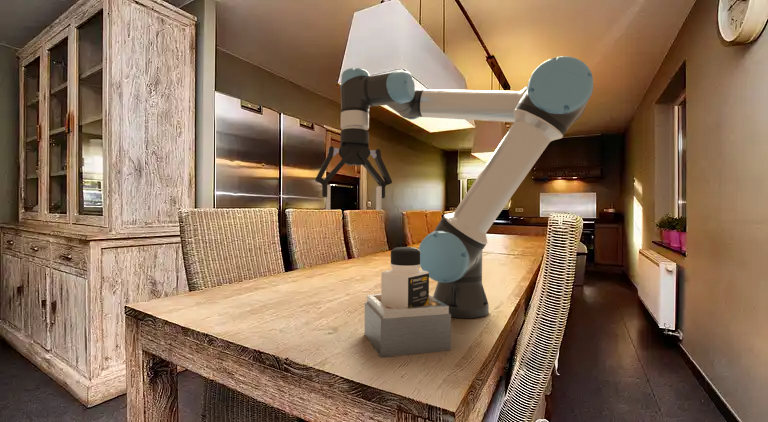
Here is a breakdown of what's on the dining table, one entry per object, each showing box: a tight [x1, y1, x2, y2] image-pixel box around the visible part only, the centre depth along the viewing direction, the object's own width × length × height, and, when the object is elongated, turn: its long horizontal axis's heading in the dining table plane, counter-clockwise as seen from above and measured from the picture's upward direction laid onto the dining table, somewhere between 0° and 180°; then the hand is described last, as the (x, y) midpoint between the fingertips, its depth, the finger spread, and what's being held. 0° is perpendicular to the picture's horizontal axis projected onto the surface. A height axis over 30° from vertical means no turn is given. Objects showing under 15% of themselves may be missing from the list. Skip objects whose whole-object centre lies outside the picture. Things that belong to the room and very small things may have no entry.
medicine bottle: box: [380, 246, 430, 308], centre depth 74 cm, size 7×7×12 cm
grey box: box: [364, 293, 452, 358], centre depth 74 cm, size 14×13×8 cm
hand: (353, 210), depth 96 cm, fingers open, 13 cm apart
